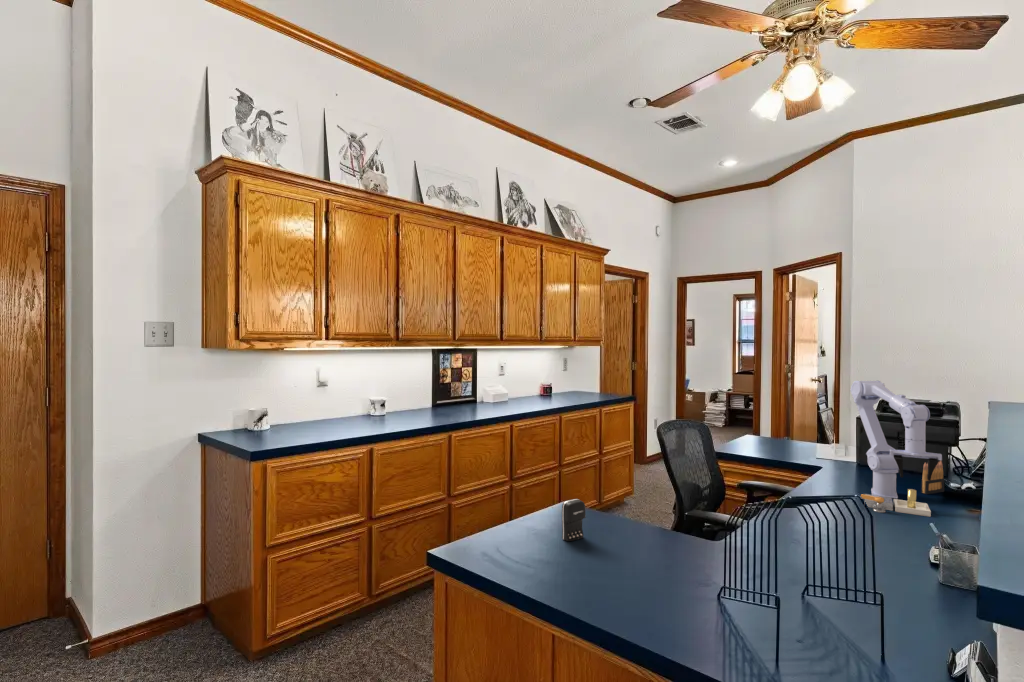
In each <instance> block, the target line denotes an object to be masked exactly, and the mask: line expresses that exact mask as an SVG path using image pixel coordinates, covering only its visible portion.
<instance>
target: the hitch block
mask: <svg viewBox="0 0 1024 682" xmlns="http://www.w3.org/2000/svg"><path fill="white" fill-rule="evenodd" d="M864 495H869V496H874V497H882V498H884V502H876V501H873V500H868V499H864V503H865V502H866V504H867V506H868V507H867V508H871V509H872V511H873V512H875V513H879V514H880V513H881V514H883V513H886V510H887V511H892V512H893V511H894V504H893V498H891V497H885V496H877V495H872V494H869V493H864Z"/></svg>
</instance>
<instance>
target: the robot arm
mask: <svg viewBox="0 0 1024 682" xmlns="http://www.w3.org/2000/svg"><path fill="white" fill-rule="evenodd" d="M849 392H850V393H851V396H852V400H853V402H854V403H855V404H856V405H855V406H856V409H857V411H858V414H859V417H860V419H861V422H862V423H861V424H862V425H863V428H864V430H865V434H866V436H867V439H868V441H869V444H870V448H869V449H868V450H867V451H866V453H865V455H866V456H867V465H868V466H869V468H870V470H871V471H872V487H871V489H870V491H871V495H877V496H885V497H891V498H892V499H897V500H899V496H898V493H897V474H899V476H900V478H904V470H903V466H904V465H903V463H904V459H903V458H916V459H926V460H927V463H928V474H927V479H928V480H930V481H931V476H932V473H933V471H934V469H935V467H936V465H937V464H938V462H939V461H940V460H941V461H943V454H942V453H935V452H927V451H926V427H927V426H926V422H928V421H929V419H930V417H931V413H930V409H929V408H928V407H927V406H926V405H925V404H916V402H915V401H913V400H910V399H909V398H907V397H906V395H905V394H896V393H893V391H891V390H890V389H888V388H887V387H886V385H885V383H884V382H882V381H881V380H854V381H853V382H852V384H851V387H850V390H849ZM880 399H882V400H884V401H886V402H887V403H888V405H889V407H890V408H891V409H893V410H894V411H896V412H897V413H899V414H900V417H901V419H902V422H903V425H904V429H905V431H904V444H905V445H904V449H896V448H894V447H892V446H891V445H889V444H888V442H887V439H886V437H885V434H884V432H883V429H882V426H881V423H880V421H879V419H878V415H877V414H876V411H875V407H874V406H875V405H876V404H878V403H879V401H880Z"/></svg>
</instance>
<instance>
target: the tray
mask: <svg viewBox="0 0 1024 682" xmlns="http://www.w3.org/2000/svg"><path fill="white" fill-rule="evenodd" d="M892 502H893V509H894V512H896V513H901V514H902V513H903V514H908V515H916V516H922V517H923V516H924V517H931V516H932V515H931V514H932V511H931V509H930V507H929V504H928V503H926V502H919V501H916V509H914V508H907V500H903V499H895V498H893V500H892Z"/></svg>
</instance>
